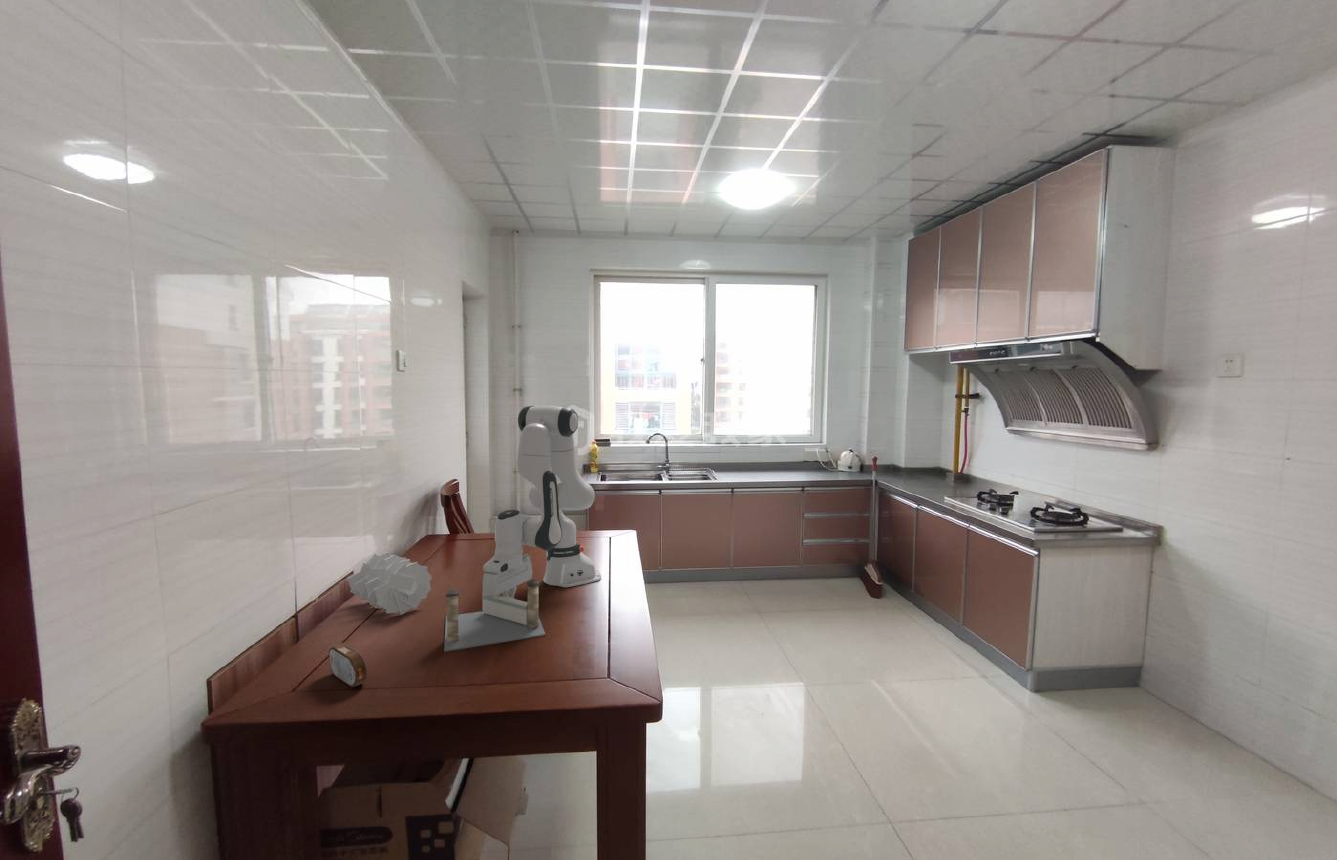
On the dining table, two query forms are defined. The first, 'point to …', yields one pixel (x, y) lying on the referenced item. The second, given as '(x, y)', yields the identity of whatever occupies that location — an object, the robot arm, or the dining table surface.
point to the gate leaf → (506, 608)
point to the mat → (488, 631)
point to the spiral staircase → (391, 583)
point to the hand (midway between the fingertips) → (509, 601)
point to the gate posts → (453, 610)
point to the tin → (347, 665)
